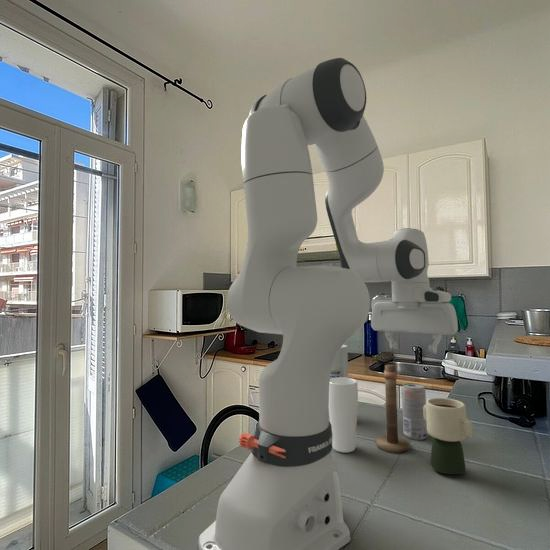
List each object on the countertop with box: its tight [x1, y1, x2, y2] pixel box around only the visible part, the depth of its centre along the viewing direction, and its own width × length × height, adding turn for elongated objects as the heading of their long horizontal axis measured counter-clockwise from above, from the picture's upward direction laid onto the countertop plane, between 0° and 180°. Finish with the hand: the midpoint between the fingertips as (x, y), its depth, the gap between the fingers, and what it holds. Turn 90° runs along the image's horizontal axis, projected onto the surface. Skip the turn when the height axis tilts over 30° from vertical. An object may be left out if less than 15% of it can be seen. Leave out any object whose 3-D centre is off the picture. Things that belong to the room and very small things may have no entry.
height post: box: [375, 364, 410, 454], centre depth 80 cm, size 7×7×18 cm
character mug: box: [423, 397, 473, 475], centre depth 69 cm, size 11×7×13 cm, turn 24°
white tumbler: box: [329, 377, 359, 454], centre depth 79 cm, size 7×7×15 cm
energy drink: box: [401, 382, 428, 441], centre depth 85 cm, size 5×5×12 cm
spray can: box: [329, 344, 349, 421], centre depth 98 cm, size 6×6×20 cm
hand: (412, 351), depth 86 cm, fingers open, 8 cm apart
